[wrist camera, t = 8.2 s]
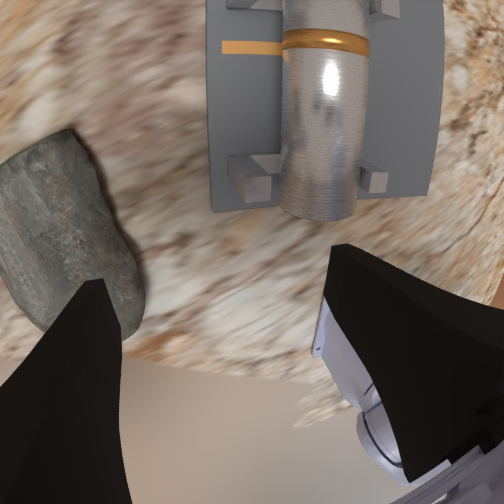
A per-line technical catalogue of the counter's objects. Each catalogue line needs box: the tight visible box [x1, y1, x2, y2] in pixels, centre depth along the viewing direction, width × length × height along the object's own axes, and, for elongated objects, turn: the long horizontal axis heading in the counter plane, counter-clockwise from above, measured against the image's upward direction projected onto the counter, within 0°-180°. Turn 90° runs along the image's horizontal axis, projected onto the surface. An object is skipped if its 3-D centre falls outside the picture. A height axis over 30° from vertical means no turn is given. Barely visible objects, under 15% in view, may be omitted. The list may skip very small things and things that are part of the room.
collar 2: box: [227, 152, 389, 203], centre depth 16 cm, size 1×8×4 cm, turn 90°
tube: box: [279, 0, 370, 221], centre depth 13 cm, size 14×4×4 cm, turn 0°
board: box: [206, 0, 444, 213], centre depth 16 cm, size 18×18×1 cm
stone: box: [0, 129, 145, 341], centre depth 16 cm, size 11×4×15 cm
